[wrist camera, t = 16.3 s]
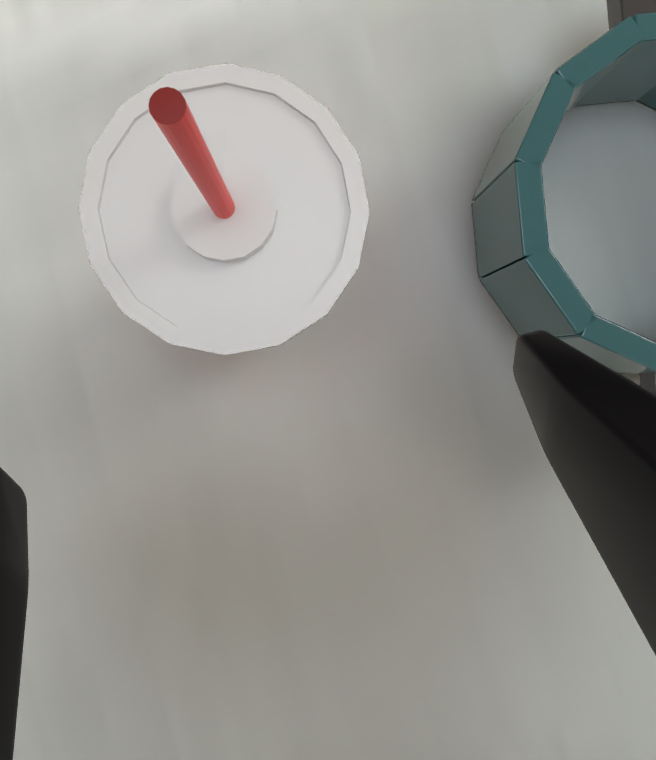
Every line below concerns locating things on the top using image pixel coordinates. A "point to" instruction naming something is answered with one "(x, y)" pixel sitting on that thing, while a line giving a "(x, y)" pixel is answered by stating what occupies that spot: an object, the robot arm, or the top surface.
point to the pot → (527, 206)
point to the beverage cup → (224, 209)
